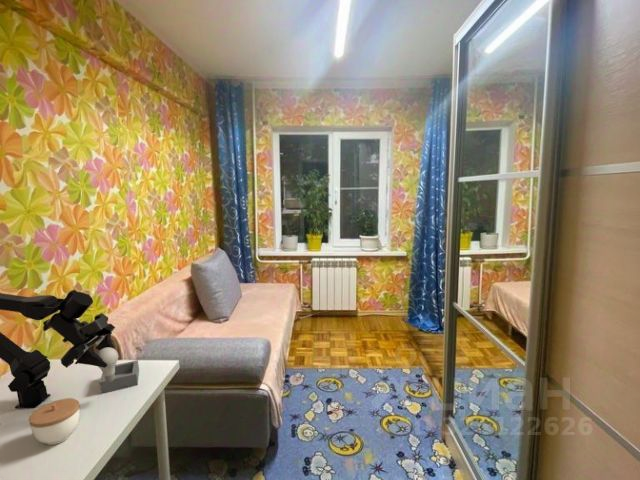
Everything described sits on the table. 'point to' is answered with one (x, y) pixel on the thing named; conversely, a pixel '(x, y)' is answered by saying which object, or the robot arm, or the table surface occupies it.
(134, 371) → the socket
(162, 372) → the table surface
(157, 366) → the table surface
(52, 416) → the lidded jar
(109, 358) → the lightbulb
